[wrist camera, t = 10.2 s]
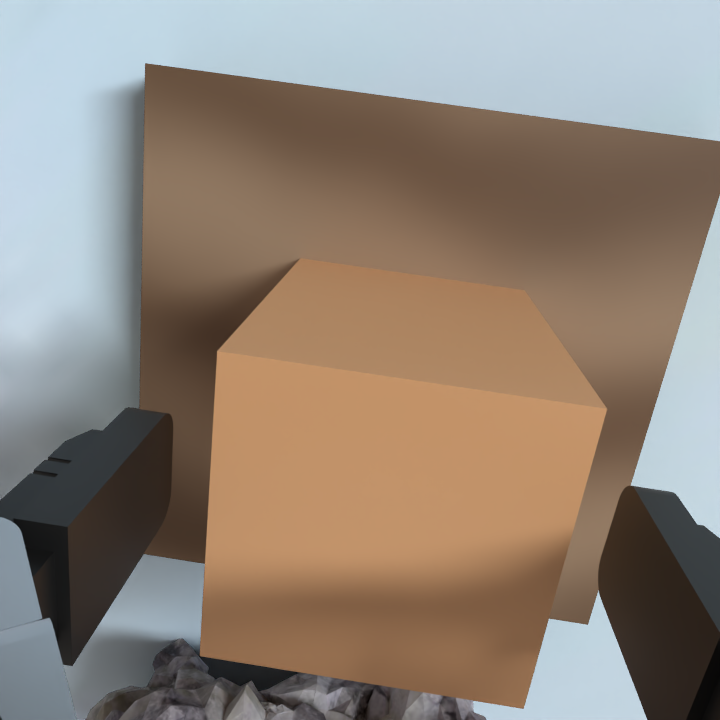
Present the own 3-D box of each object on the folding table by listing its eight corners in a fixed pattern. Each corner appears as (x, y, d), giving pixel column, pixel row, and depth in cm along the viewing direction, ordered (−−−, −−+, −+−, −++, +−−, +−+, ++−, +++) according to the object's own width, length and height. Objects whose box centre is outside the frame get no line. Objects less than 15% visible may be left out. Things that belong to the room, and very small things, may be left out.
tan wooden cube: (300, 258, 17) (217, 351, 10) (525, 290, 17) (607, 409, 10) (281, 457, 19) (199, 656, 12) (481, 487, 19) (523, 708, 12)
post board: (167, 69, 17) (-7, 24, 10) (707, 142, 17) (924, 150, 10) (155, 525, 22) (30, 714, 15) (576, 591, 21) (656, 819, 14)
